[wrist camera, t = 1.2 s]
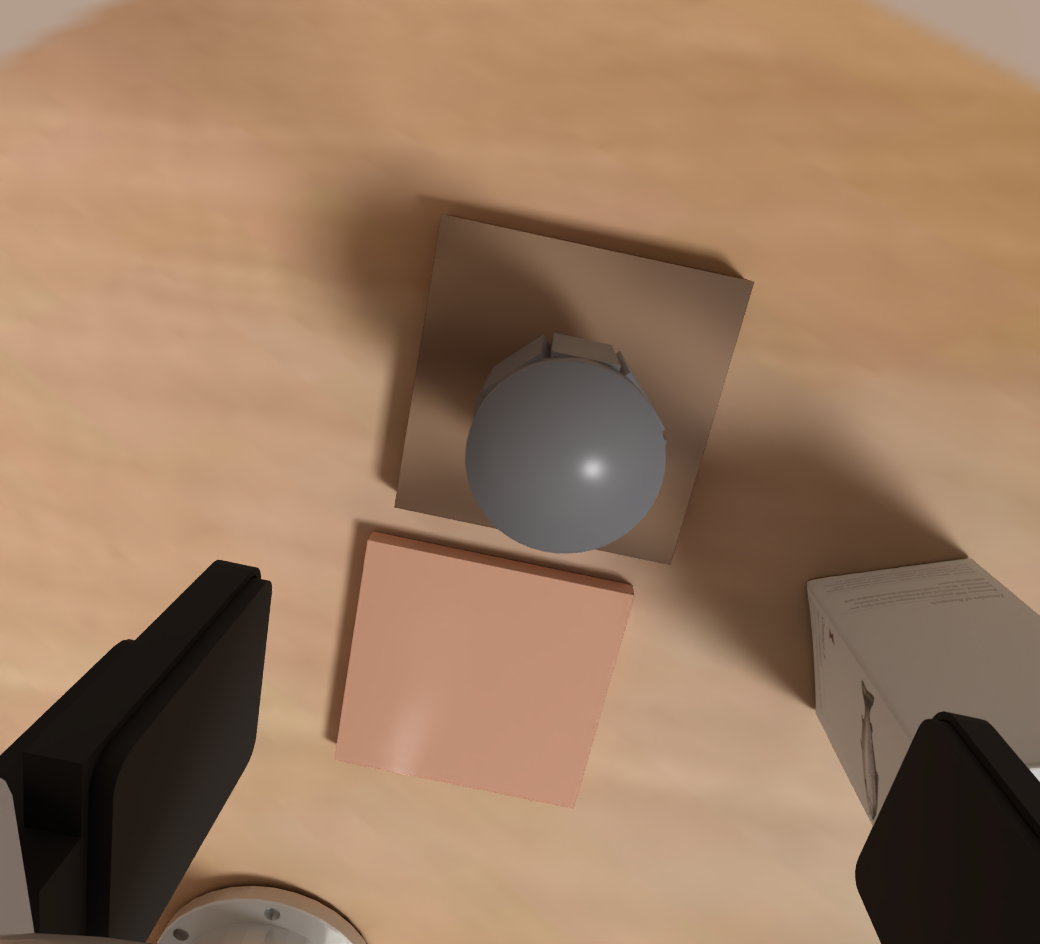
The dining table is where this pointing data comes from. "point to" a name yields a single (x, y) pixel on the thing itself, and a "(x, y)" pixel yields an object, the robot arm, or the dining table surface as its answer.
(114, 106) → the dining table surface
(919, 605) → the supplement box
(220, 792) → the robot arm
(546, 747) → the tile
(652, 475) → the cap
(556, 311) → the post base
